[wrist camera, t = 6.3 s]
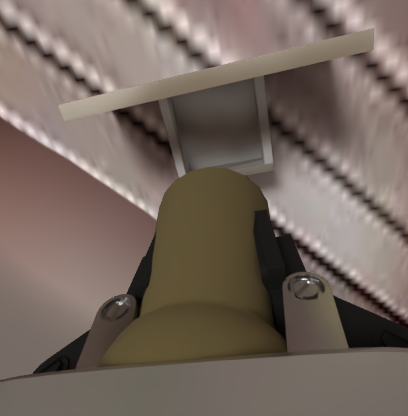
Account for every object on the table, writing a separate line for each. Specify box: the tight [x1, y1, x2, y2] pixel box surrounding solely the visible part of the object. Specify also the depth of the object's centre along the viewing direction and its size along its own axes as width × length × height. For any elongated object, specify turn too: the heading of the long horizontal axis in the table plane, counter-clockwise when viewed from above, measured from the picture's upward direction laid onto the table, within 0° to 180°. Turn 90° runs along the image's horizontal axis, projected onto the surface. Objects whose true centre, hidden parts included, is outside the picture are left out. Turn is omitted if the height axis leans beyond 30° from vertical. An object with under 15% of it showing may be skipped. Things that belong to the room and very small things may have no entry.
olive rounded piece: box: [98, 167, 288, 367], centre depth 10 cm, size 6×6×11 cm
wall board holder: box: [58, 28, 374, 178], centre depth 24 cm, size 10×22×9 cm, turn 102°
